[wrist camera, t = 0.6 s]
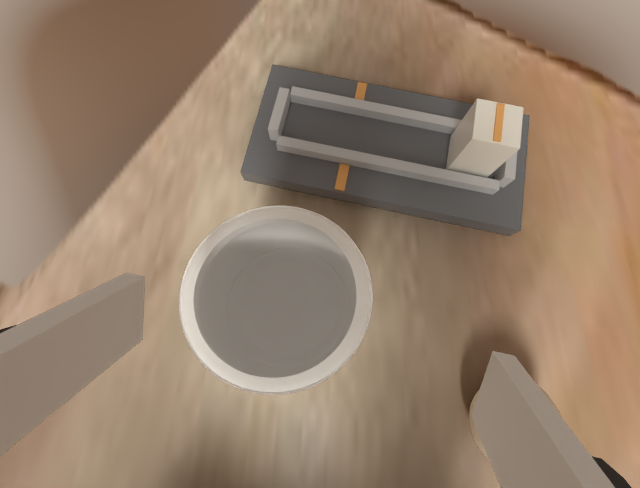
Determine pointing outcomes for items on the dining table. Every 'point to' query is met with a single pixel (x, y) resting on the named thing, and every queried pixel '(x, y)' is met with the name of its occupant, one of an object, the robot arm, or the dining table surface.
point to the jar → (276, 300)
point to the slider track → (377, 151)
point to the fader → (485, 138)
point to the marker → (343, 167)
